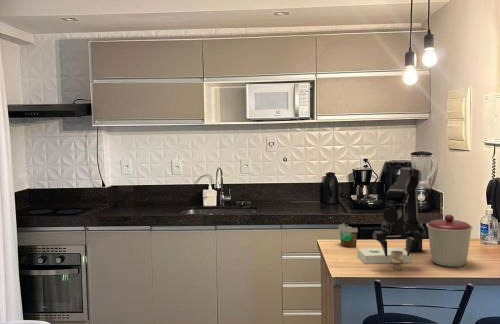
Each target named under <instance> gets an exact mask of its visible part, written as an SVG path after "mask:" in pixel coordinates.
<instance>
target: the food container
mask: <svg viewBox="0 0 500 324" xmlns="http://www.w3.org/2000/svg"><path fill="white" fill-rule="evenodd" d="M338 231H339V238H340V240H339V241H340V246H341V247H344V248H350V249H352V248H354V249H355V248H357V240H358V232H359V229H358V227H352V226H348V225H346V224H345V222H344V223H341V224H339V225H338Z"/></svg>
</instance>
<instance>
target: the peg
mask: <svg viewBox="0 0 500 324" xmlns="http://www.w3.org/2000/svg"><path fill="white" fill-rule="evenodd" d="M390 264H392V265H393V269H394V270H397V271H398V270H401V267H402V265H403V264H404V263H403V252H402V251H391V263H390Z"/></svg>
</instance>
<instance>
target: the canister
mask: <svg viewBox="0 0 500 324" xmlns="http://www.w3.org/2000/svg"><path fill="white" fill-rule="evenodd" d="M454 218H455V216H454V215H452V214H445V216H444V219H434V220H430V221H429V222H427V223H426V224H425V226H426V227H427V230H428V231H427V232H428V239H429V240H428V243H429V250H430V256H431V260H432V261H433V263H435V264H436V265H439V266H443V267H449V268H451V267H452V268H457V267H458V268H459V267H462V266H464V265H465V264H466V263H467V260H468V254H469V249H470V240H471V233H472V230H473V229H474V227H473V225H471V224H469V223H468V222H465V221H462V220H456V219H454Z"/></svg>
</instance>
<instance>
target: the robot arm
mask: <svg viewBox="0 0 500 324" xmlns="http://www.w3.org/2000/svg"><path fill="white" fill-rule="evenodd" d="M421 179H422V172H421V171H420V170H419V169H416V168H413V167H412V166H402V167H400V170H399V175H398V177H397V179H396V181H395V183H394V184H392V185H390V187H389V189H388V190H387V191H386V195H385V196H386V197H385V201H384V206H387V207H388V208H386V209H385V210H384V212H383V215H382V216H383V219H384V221H381V222H380V223H381V225H380V227H381V228H380V229H381V230H374V231H373V233H372V239H374V240H375V241H377V242H378V243H380V245H381V248H383V251H384V254H385V256H387V248H388V241H387V239H388V238H389V239H390V238H391V239H392V238H406V239H405V249H404V250H406V251H407V255H408V256H409V255H410V254H411V253H423V252H424V250H423V240H424V239H426V231H425V228H424V226H423V221H422V220H421V219H420V217H419V207H418V205H419V204H418V203H419V202H418V186H419V185H420V183H421ZM406 205H407V206H406ZM405 207H407V220H406V221H405V218H406V217H405V216H406V215H405V214H406V213H405V212H406V211H405ZM383 230H385V231H383Z"/></svg>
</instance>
